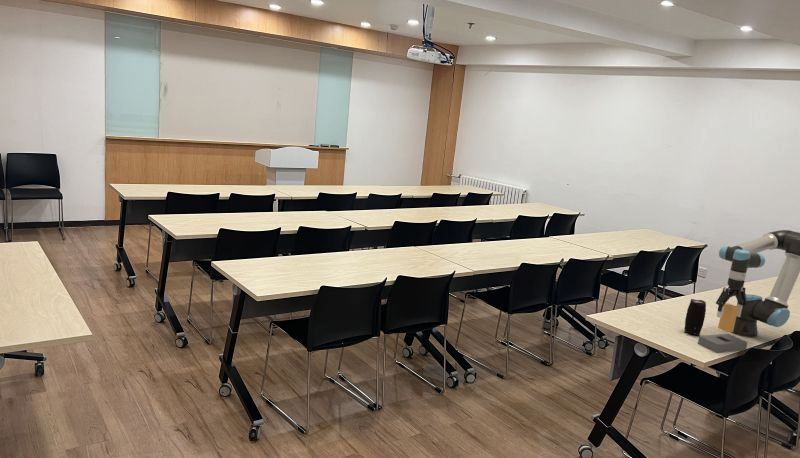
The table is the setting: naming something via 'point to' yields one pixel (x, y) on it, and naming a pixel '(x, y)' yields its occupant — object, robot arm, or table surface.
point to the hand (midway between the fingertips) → (728, 316)
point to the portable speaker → (695, 317)
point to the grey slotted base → (722, 343)
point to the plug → (728, 318)
